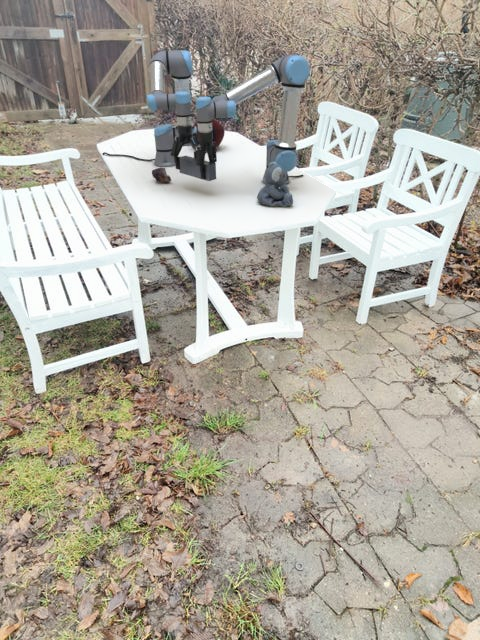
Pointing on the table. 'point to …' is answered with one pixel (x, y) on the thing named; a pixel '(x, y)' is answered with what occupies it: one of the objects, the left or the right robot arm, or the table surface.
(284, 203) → the koala plush
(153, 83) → the left robot arm
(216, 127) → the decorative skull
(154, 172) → the rock
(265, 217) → the table surface
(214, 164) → the bar
